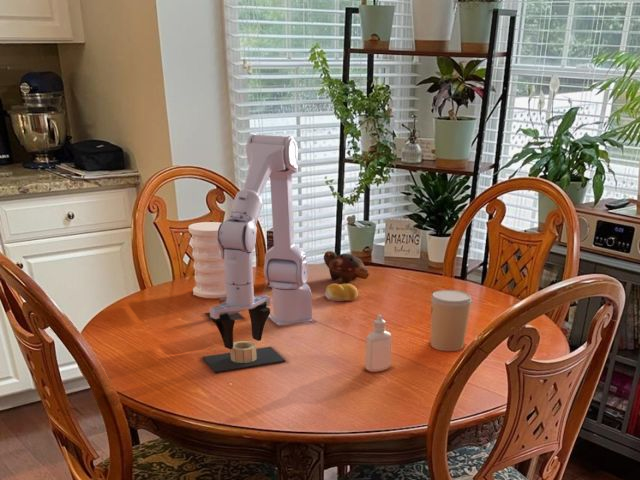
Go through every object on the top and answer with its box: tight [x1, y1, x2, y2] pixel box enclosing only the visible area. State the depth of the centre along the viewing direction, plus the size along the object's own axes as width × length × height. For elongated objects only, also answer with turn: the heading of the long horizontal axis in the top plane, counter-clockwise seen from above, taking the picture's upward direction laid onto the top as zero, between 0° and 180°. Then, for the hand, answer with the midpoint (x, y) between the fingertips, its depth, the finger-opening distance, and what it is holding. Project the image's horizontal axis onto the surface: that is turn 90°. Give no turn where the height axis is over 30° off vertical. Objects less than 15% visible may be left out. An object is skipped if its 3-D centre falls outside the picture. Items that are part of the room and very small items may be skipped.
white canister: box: [430, 289, 473, 352], centre depth 166 cm, size 9×9×12 cm
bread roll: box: [324, 283, 359, 302], centre depth 198 cm, size 8×9×4 cm
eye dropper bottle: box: [365, 313, 393, 373], centre depth 152 cm, size 4×6×12 cm
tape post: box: [204, 297, 245, 324], centre depth 180 cm, size 8×8×5 cm
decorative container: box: [187, 221, 227, 299], centre depth 194 cm, size 12×12×18 cm
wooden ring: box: [229, 340, 257, 363], centre depth 156 cm, size 6×6×3 cm
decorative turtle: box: [323, 250, 370, 284], centre depth 211 cm, size 10×15×8 cm, turn 67°
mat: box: [202, 346, 286, 374], centre depth 157 cm, size 16×9×1 cm, turn 117°
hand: (243, 343), depth 155 cm, fingers open, 7 cm apart
